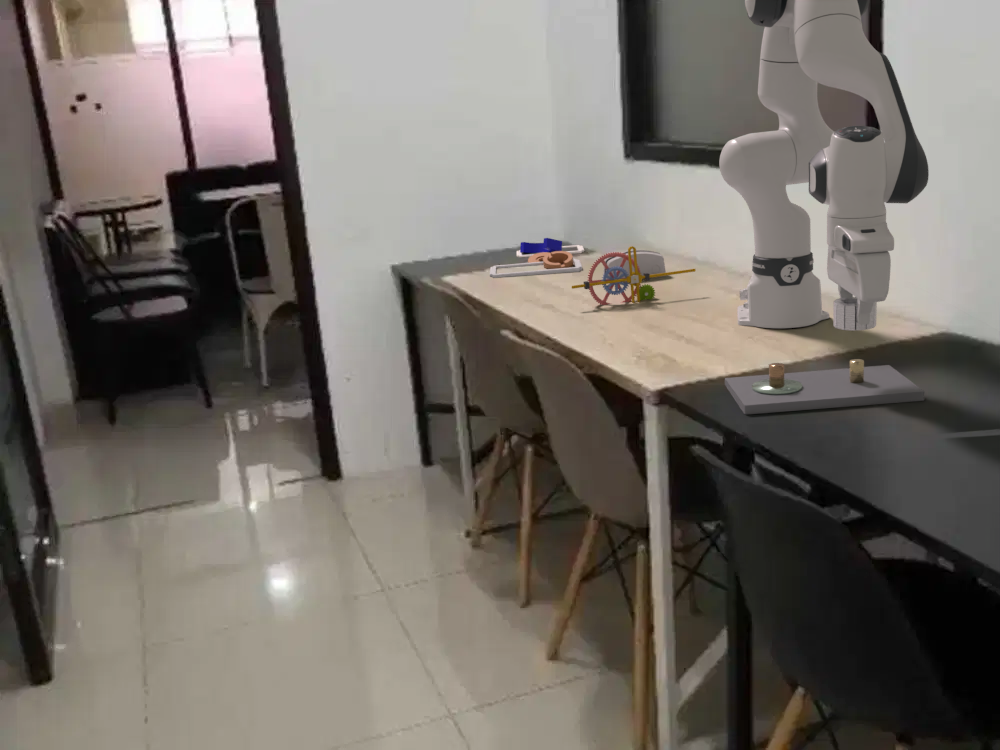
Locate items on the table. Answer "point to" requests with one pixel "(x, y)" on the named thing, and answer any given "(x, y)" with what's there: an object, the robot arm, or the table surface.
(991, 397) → the table surface
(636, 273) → the mechanical gear assembly
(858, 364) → the stand rod
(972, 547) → the table surface
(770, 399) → the board
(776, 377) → the post
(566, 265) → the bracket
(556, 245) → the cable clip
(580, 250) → the bin
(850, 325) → the steel ring
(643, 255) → the grey rounded block
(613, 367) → the table surface
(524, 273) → the bin
